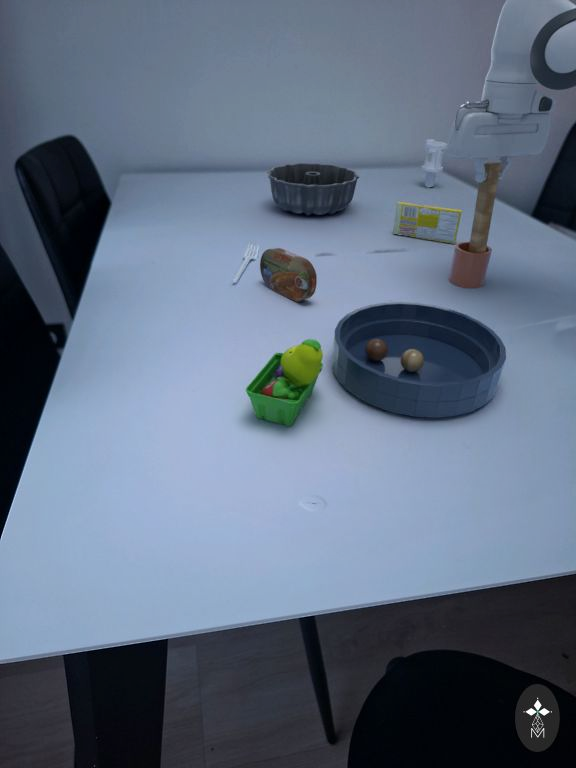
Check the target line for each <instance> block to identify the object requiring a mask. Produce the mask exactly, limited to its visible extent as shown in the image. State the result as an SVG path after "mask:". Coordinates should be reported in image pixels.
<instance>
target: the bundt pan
mask: <svg viewBox="0 0 576 768" xmlns="http://www.w3.org/2000/svg"><path fill="white" fill-rule="evenodd" d="M267 178H268V179H269V183H270V190H271V195H272V199H273V201H274V203H275V204H276V205H277V206H278V207H280V208H281V209H282V210H283V211H284V212H287V211H292V212H291V213H293V214H295V215H296V214H297V215H300V214H305V216H307V217H309V216H310V215H312V214H314V215H317V216H323V215H325V214H327V213H329V214H328V215H333V214H335V213H336V211H337V212H340V211H342V210H344V209H345V208H346V207H347V206H349V205H350V203H351V202H352V201H353V198H354V196H355V190H356V186H357V182H358V179H360V176H359V175H358V172H357V171H356V170H353V169H350V168H348V167H346V166H340V165H337V164H331V163H320V162H314V163H311V162H296V163H285V164H283V165H278V166H277V165H276V166H274V167H272V168H271V169H269V170H267Z"/></svg>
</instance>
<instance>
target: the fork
mask: <svg viewBox="0 0 576 768" xmlns="http://www.w3.org/2000/svg"><path fill="white" fill-rule="evenodd" d="M253 245H254V246H253ZM259 247H260V244H257V245H256V243H255V244H253V243H251V244H250V243H248V246H247V248H246V250H245V253H244V255H243V257H242V259H243V262H242V263H241V266H240V267H239V269H238V271H237V272H236V274H235V276H234V278H233V280H232V284H237V282H238V281H239V279H240V277H241V276H242V274H243V273H244V271H245V270H246V267H247V265H249V263H250V261H251V260H258V257H259V252H260V251H259V250H260V248H259Z"/></svg>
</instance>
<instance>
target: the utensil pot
mask: <svg viewBox="0 0 576 768" xmlns="http://www.w3.org/2000/svg"><path fill="white" fill-rule="evenodd" d="M469 244H470V241H463V242H458V243H455V247H454V251H453V257H452V261H451V264H450V265H451V266H450V271H449V276H448V282H449V283H450V284H452V285H453V286H455V287H459V288H462V289H469V290H470V289H480V288H482V287H484V284H485V280H486V276H487V273H488V269H489V263H490V260H491V256H492V253H493V249H492V248H491V247H490V246H489V245H487V246H486V252H485V253H471V252H468V251H469Z"/></svg>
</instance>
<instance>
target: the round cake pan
mask: <svg viewBox="0 0 576 768" xmlns="http://www.w3.org/2000/svg"><path fill="white" fill-rule="evenodd" d="M335 326H336V327H335V328H334V333H333V334H334V335H333V347H332V358H331V359H332V360H331V361H332V365H331V366H332V370H333V373H334V375H335V379H336V380H337V381H338V382H339V383H340V384H341V386H343V388H344V389H345V390H347V391H348V392H349V393H350V394H352V395H353V396H355V397H356V398H358V399H359V400H361V401H364V402H365V403H367V404H369V405H371V406H373V407H376V408H379V409H382V410H383V411H384V410H385V411H387V412H391V413H393V414H399V415H404V416H405V415H406V416H410V417H417V418H447V417H448V418H449V417H456V416H461V415H464V414H468V413H471V412H472V413H473V412H474V411H476V410H478V409H480V408H482V407H485V405H487V403H488V402H490V401H491V400H492V399H493V398H494V396H495V394H496V392H497V389H498V386H499V384H500V380H501V377H502V373H503V370H504V366H505V363H506V360H507V349H506V346H505V344H504V342H503V340H502V338H501V337H500V336H499V335H498V334H497V333H496V332H495V331H494V329H492V328H491V327H489V326H488V325H486V324H484V323H483V322H481V321H480V320H478V319H476V318H474V317H471V316H469V315H468V314H465V313H462V312H459V311H457V310H455V309H450V308H447V307H443V306H439V305H434V304H428V303H420V302H410V301H409V302H408V301H398V302H397V301H392V302H380V303H375V304H369V305H366V306H363V307H359V308H356V309H355V310H352V311H351V312H348V313H347V314H345V315H344V316H343V317H342V318H341V319H340V320H339V321H338V323H337V324H336V325H335ZM373 339H381V340H383V341H384V342H385V343H386V344H387V347H388V353H387V355H386V357H385V358H384V359H382V360H380V361H373V360H371V359H369V358H368V357H367V355H366V353H365V348H366V345H367V343H368V342H369V341H371V340H373ZM409 349H416V350H418V351H420V352H421V353H422V355H423V357H424V364H423V366H422V368H421V369H420V370H418V371H416V372H409V371H406V370H405V369H404V368H403V367H402V365H401V356H402V354H403V353H404V352H405V351H407V350H409Z"/></svg>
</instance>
